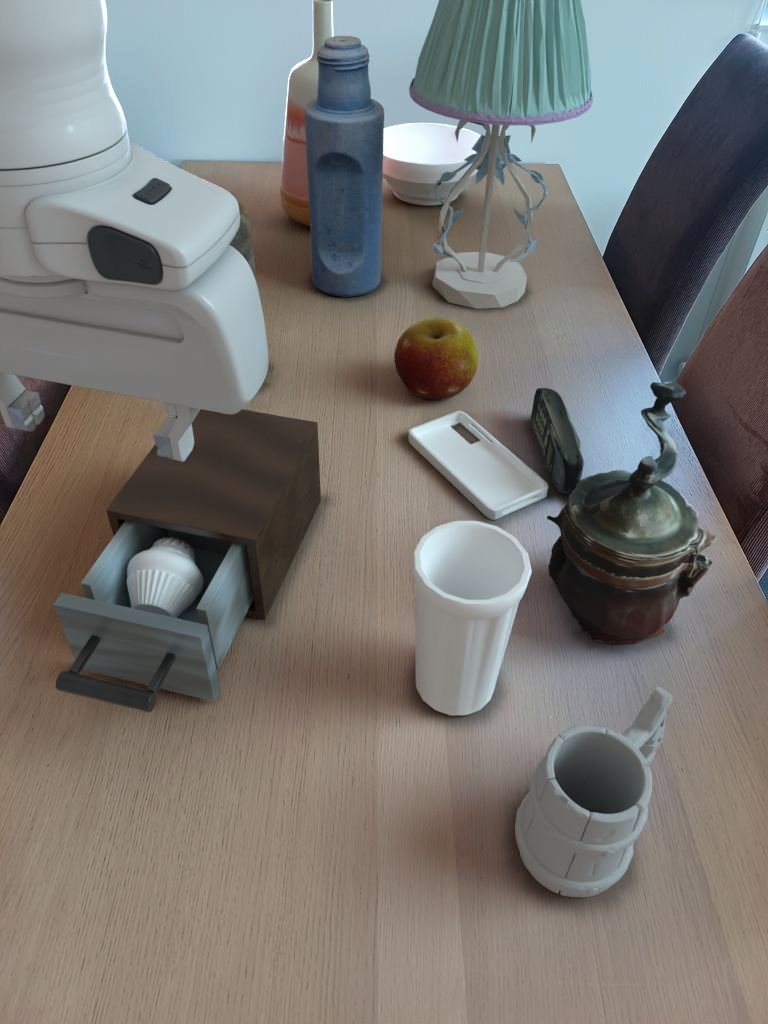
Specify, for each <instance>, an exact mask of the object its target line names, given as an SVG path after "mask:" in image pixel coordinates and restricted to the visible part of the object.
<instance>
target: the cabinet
mask: <svg viewBox="0 0 768 1024" xmlns="http://www.w3.org/2000/svg"><path fill="white" fill-rule="evenodd" d="M174 418H177V415H176V416H174ZM318 423H319V422H317V421H312V420H311V421H310V420H307V419H301V418H295V417H288V416H284V415H279V414H272V413H266V412H261V411H260V412H259V411H255V410H249V409H244V408H243V409H242V410H240V411H239V412H238V413H236V414H231V415H230V414H223V413H218V412H214V411H208V410H203V409H200V411H199V412H198V414H197V416H196V417H195V419H194V421H193V422H192V430H193V436H194V446H193V449H192V451H191V453H190V454H189V455H188V457H187V458H186V460H185V461H183V462H182V461H178V460H172V459H168V458H163V457H159V456H158V455H157V450H158V447H157V446H156V445H155V444H154V445H153V446H152V447H151V449H150V450H149V451H148V453H147V455H146V456H145V457H144V458H143V460H142V461H141V462H140V464H139V465H138V466H137V468H135V470H134V471H133V473H132V474H131V475H130V477H129V478H128V479H127V481H126V482H125V484H124V485H123V486H122V488H120V490H119V492H118V493H117V494H116V496H115V497H114V498H113V499H112V501H111V502H110V503H109V505H108V506H107V507H106V508H105V512H106V515H107V516H106V517H107V519H108V522H109V526H110V529H111V533H112V537H114V536H115V534H116V533H117V531H118V530H119V529H120V527H121V526H122V524H123V523H124V522H125V520H126V521H131V522H136V523H140V524H145V525H150V526H155V527H160V528H165V529H170V530H175V531H180V532H185V533H190V534H195V535H199V536H204V537H209V538H214V539H219V540H224V541H229V542H234V543H239V544H244V545H247V551H248V558H249V565H250V573H251V580H252V587H253V595H254V599H253V601H252V603H251V605H250V607H249V609H248V611H247V613H246V615H245V617H251V618H255V619H260V620H266V619H267V617H268V615H269V613H270V610H271V608H272V607H273V604H274V602H275V600H276V598H277V595H278V593H279V591H280V589H281V587H282V585H283V583H284V581H285V578H286V576H287V574H288V572H289V570H290V568H291V566H292V563H293V562H294V559H295V557H296V555H297V553H298V551H299V549H300V546H301V545H302V542H303V540H304V538H305V536H306V534H307V532H308V529H309V527H310V525H311V523H312V520H313V519H314V516H315V514H316V512H317V510H318V508H319V506H320V503H321V501H322V491H321V489H322V488H321V470H320V469H321V467H320V447H319V446H320V444H319V425H318Z"/></svg>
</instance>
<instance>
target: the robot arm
mask: <svg viewBox="0 0 768 1024" xmlns="http://www.w3.org/2000/svg"><path fill="white" fill-rule="evenodd" d="M107 10H108V9H107V3H106V0H0V414H1V417H2V419H3V422H4V425H5V427H6V428H9V429H14V430H15V429H16V430H19V431H25V432H30V433H32V432H34V431H35V430H36V428H37V426H38V425H41V424H42V422H43V421H44V419H45V416H46V415H45V408H44V407H43V406H42V405H41V404H42V399H41V396H40V393H39V392H38V391H33V390H28V389H26V387H25V386H24V385H23V383H22V382H21V381H20V380H19V378H18V376H20V377H25V378H31V379H34V380H41V381H46V382H50V383H51V382H52V383H58V384H63V385H68V386H73V387H80V388H84V389H90V390H96V391H101V392H106V393H112V394H117V395H121V396H127V397H128V396H129V397H132V398H137V399H138V398H139V399H143V400H144V399H145V400H150V401H155V402H160V403H164V406H165V411H166V414H167V415H168V416H167V417H165V419H164V420H163V422H162V423H161V427H158V428H157V430H156V431H155V433H154V434H153V440H154V445H156V446H157V447H158V450H157V455H158V456H159V457H163V458H168V459H172V460H178V461H182V462H183V461H185V460H186V458H187V457H188V455H189V454H190V453H191V451H192V449H193V446H194V436H193V430H192V422H193V421H194V419H195V417H196V416H197V414H198V412H199V411H200V409H203V410H208V411H214V412H218V413H223V414H230V415H231V414H236V413H238V412H239V411H240V410H242V409H244V408H245V407H246V406H247V405H248V404H249V403H250V402H251V401H252V400H253V399H254V398H255V396H256V395H257V393H258V392H259V390H260V389H261V387H262V385H263V384H264V382H265V379H266V378H267V374H268V370H269V347H268V339H267V338H268V337H267V330H266V323H265V317H264V312H263V307H262V302H261V297H260V292H259V287H258V283H257V284H256V282H257V279H256V280H255V277H254V275H253V272H252V270H251V268H250V266H249V264H248V263H247V261H246V260H245V258H244V257H243V256H242V255H241V254H240V253H239V252H238V251H237V250H236V249H235V248H233V247H232V246H230V245H229V244H230V243H231V241H232V240H233V238H234V236H235V235H236V233H237V231H238V229H239V226H240V213H239V212H240V211H239V206H238V201H237V199H236V198H235V196H234V195H233V194H232V193H231V192H229V190H226V189H225V188H222V187H221V186H219V185H216V184H215V183H212V182H211V181H207V180H206V179H203V178H201V177H199V176H197V175H195V174H193V173H190V172H189V171H188V170H187V171H186V170H185V169H183V168H180V167H178V166H177V165H175V164H173V163H170V162H169V161H166V160H165V159H163V158H161V157H159V156H157V155H156V154H154V153H152V152H150V151H148V150H147V149H145V148H144V147H142V146H140V145H138V144H136V143H135V142H132V141H130V139H129V132H128V126H127V120H126V117H125V114H124V110H123V108H122V106H121V103H120V102H119V99H118V97H117V96H116V94H115V91H114V88H113V86H112V83H111V79H110V75H109V71H108V65H107V56H106V44H107V43H106V42H107V41H106V40H107V32H108V31H107V30H108V11H107ZM170 416H172V417H170ZM176 416H177V418H175V417H176Z"/></svg>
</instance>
